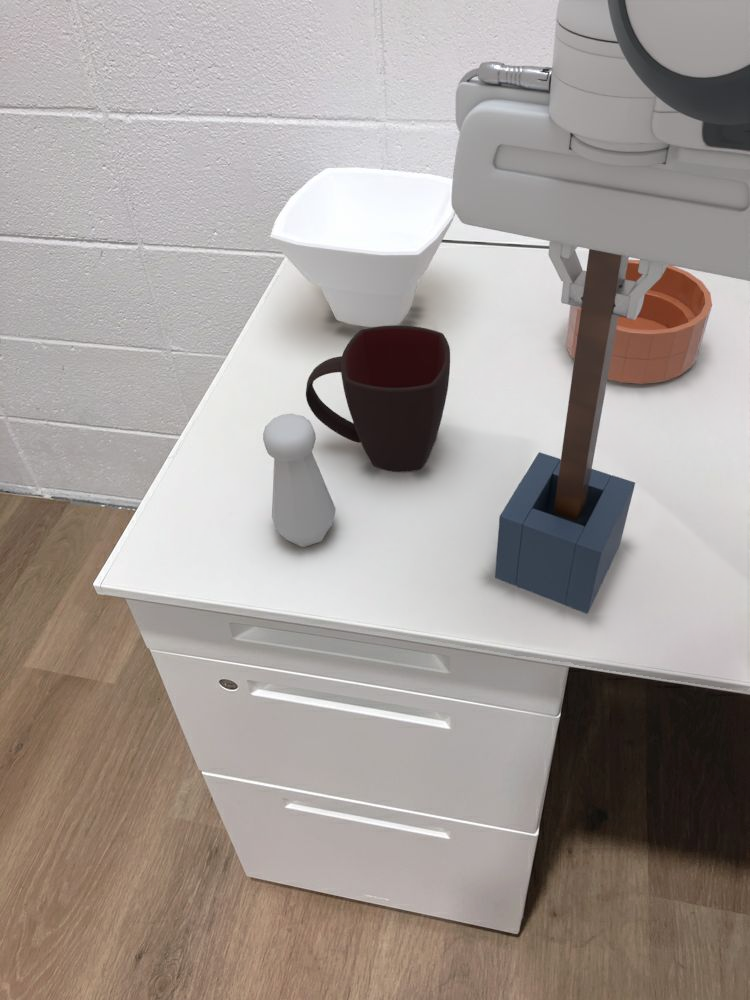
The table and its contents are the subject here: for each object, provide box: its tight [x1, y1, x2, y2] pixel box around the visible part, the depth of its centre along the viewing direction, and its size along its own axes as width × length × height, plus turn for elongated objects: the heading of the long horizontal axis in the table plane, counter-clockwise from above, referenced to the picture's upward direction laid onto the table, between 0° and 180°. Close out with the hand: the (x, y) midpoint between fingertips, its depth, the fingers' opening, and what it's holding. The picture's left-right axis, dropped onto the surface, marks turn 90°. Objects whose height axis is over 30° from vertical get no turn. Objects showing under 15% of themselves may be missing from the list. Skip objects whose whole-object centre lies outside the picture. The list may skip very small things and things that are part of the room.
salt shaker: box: [262, 413, 336, 548], centre depth 70 cm, size 6×6×13 cm
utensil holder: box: [494, 451, 636, 614], centre depth 68 cm, size 8×8×8 cm
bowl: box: [269, 166, 456, 328], centre depth 94 cm, size 19×19×14 cm
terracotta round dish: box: [565, 259, 713, 385], centre depth 89 cm, size 14×14×7 cm
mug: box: [305, 324, 451, 473], centre depth 77 cm, size 10×14×12 cm
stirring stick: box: [554, 249, 630, 521], centre depth 57 cm, size 2×2×24 cm
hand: (601, 307), depth 52 cm, fingers closed on stirring stick, 2 cm apart
